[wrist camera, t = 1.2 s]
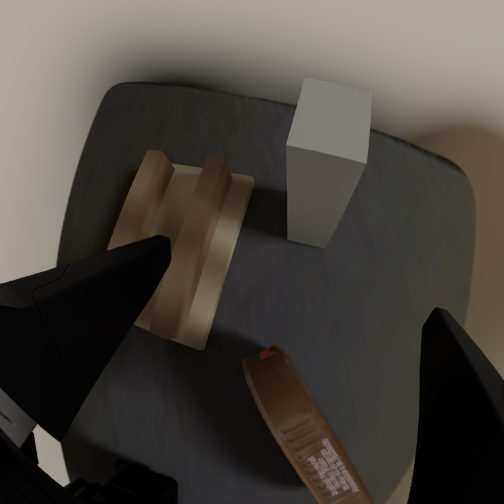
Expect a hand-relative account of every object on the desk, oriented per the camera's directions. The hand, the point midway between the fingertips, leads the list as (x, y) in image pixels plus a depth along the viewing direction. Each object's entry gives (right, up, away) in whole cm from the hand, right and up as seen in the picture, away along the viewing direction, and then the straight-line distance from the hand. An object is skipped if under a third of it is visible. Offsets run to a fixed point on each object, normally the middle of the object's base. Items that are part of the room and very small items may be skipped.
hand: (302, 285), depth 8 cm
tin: (+3, -12, +10) cm, 16 cm away
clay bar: (+3, +3, +13) cm, 14 cm away
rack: (-8, +1, +14) cm, 16 cm away
